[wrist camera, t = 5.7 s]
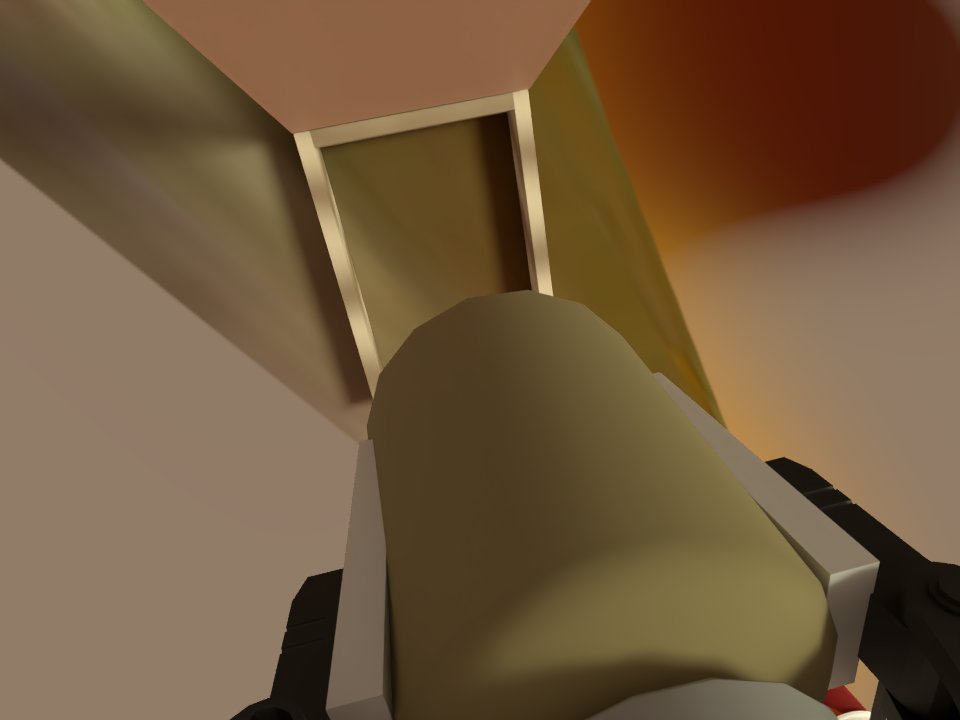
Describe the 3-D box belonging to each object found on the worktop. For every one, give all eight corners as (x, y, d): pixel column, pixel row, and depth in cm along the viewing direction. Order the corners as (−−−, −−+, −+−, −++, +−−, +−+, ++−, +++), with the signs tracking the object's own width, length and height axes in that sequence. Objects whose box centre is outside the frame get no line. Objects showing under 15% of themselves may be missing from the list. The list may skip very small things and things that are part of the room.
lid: (291, 133, 30) (284, 108, 30) (529, 88, 32) (525, 64, 31) (62, -70, 11) (35, -147, 11) (709, -171, 12) (704, -245, 12)
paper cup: (726, 610, 58) (818, 739, 46) (788, 593, 59) (896, 716, 46) (726, 655, 62) (812, 787, 49) (784, 638, 62) (885, 764, 49)
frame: (300, 134, 33) (293, 133, 31) (519, 93, 34) (527, 89, 32) (377, 396, 41) (376, 410, 39) (552, 356, 42) (561, 368, 40)
